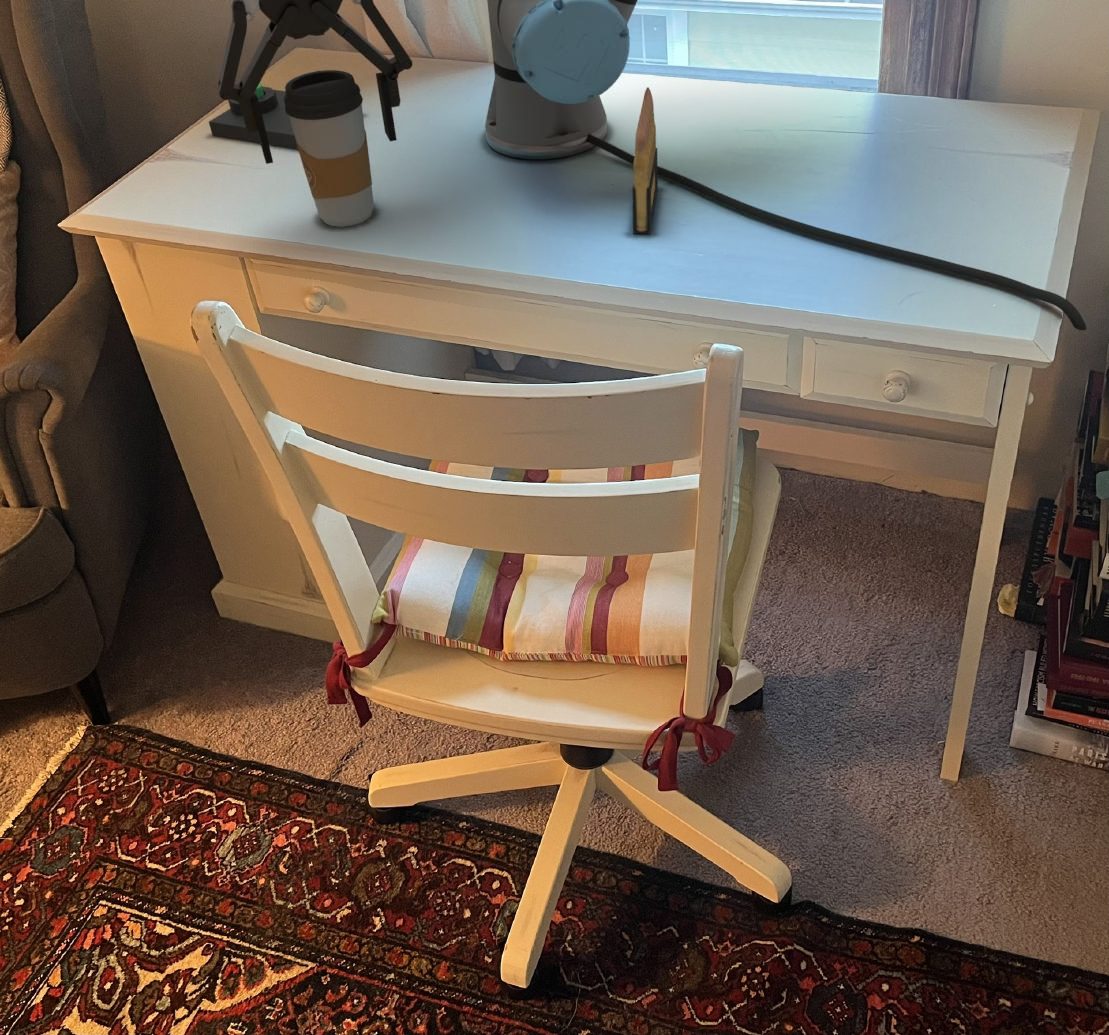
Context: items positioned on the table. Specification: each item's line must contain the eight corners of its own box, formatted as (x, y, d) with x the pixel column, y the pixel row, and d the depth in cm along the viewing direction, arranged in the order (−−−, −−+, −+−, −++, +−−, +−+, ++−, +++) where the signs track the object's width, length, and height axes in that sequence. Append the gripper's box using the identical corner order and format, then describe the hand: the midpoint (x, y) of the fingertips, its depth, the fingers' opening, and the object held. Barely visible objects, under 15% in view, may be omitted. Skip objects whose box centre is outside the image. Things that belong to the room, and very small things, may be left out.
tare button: (269, 94, 146) (266, 83, 145) (254, 103, 144) (251, 92, 143) (250, 92, 147) (247, 80, 146) (235, 100, 145) (232, 89, 144)
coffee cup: (302, 209, 126) (271, 79, 116) (370, 191, 129) (345, 62, 119) (322, 238, 121) (291, 104, 111) (393, 219, 123) (369, 86, 113)
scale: (362, 115, 146) (357, 89, 144) (309, 151, 139) (303, 124, 136) (267, 101, 152) (261, 76, 150) (211, 135, 145) (204, 109, 142)
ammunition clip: (650, 234, 116) (649, 124, 108) (632, 234, 117) (630, 124, 109) (657, 189, 124) (657, 83, 116) (641, 189, 124) (639, 84, 116)
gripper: (405, -92, 110) (432, 115, 124) (154, -57, 105) (212, 154, 119) (422, -75, 105) (448, 140, 119) (158, -37, 100) (218, 182, 114)
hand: (330, 147), depth 119 cm, fingers open, 13 cm apart
